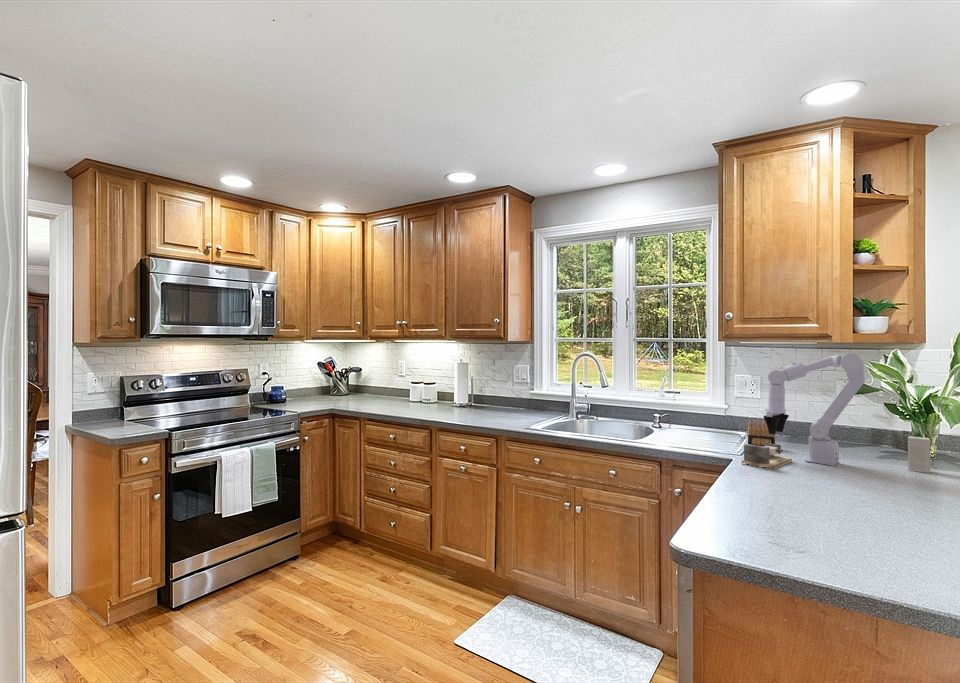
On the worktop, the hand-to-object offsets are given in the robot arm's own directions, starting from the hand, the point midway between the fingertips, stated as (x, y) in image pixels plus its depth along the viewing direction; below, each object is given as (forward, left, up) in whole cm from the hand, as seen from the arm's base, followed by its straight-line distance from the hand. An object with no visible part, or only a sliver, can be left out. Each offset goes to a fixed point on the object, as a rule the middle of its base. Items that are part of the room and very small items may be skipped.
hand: (775, 432), depth 209 cm
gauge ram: (-1, +8, -7) cm, 11 cm away
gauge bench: (-1, +13, -10) cm, 16 cm away
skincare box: (-42, -15, -10) cm, 46 cm away
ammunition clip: (+12, -16, -10) cm, 22 cm away
